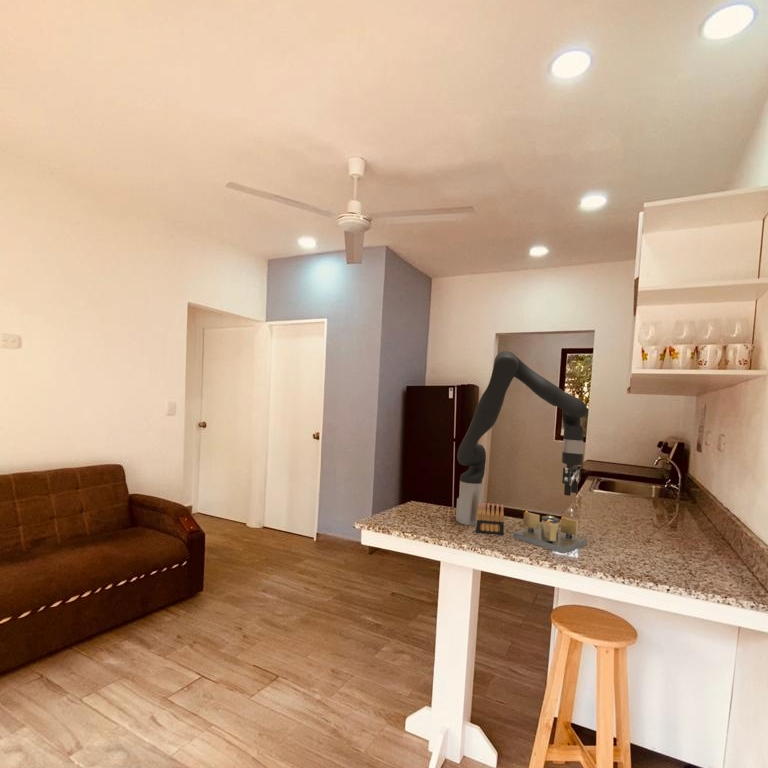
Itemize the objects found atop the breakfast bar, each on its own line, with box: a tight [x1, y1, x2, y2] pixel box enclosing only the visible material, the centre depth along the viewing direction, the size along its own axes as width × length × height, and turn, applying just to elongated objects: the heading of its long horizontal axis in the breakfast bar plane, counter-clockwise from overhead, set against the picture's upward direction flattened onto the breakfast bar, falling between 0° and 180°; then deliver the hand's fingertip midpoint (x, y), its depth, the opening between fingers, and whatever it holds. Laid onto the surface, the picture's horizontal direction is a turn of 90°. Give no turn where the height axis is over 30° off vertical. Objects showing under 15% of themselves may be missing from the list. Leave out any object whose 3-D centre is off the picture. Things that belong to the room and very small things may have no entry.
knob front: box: [544, 520, 557, 543], centre depth 159 cm, size 2×6×7 cm, turn 1°
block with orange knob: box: [522, 510, 541, 531], centre depth 172 cm, size 2×6×7 cm, turn 41°
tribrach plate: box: [512, 515, 588, 554], centre depth 166 cm, size 20×18×9 cm
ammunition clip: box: [475, 501, 505, 536], centre depth 171 cm, size 11×2×12 cm, turn 86°
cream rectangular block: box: [560, 515, 579, 537], centre depth 167 cm, size 2×6×7 cm, turn 51°
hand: (570, 494), depth 168 cm, fingers open, 8 cm apart
